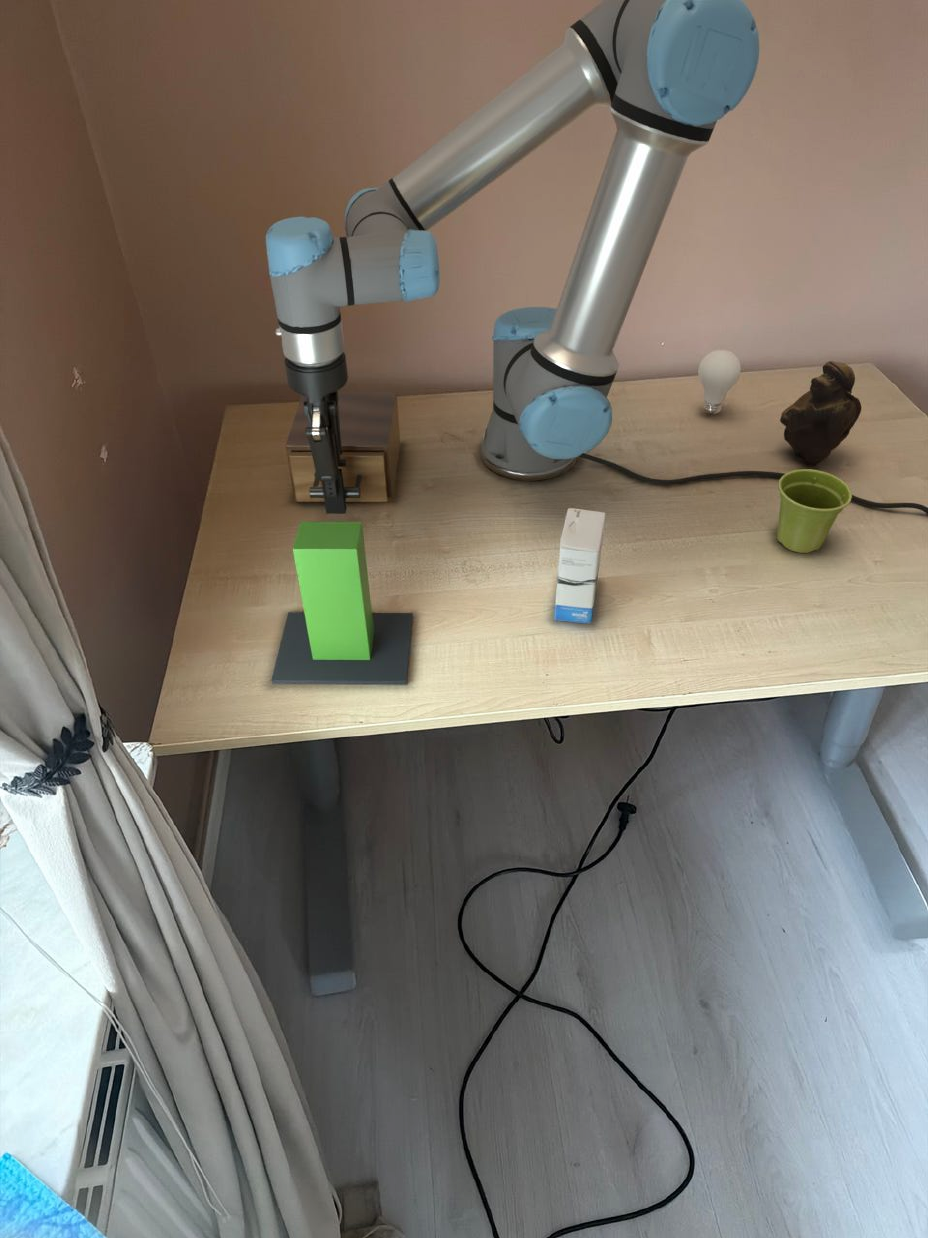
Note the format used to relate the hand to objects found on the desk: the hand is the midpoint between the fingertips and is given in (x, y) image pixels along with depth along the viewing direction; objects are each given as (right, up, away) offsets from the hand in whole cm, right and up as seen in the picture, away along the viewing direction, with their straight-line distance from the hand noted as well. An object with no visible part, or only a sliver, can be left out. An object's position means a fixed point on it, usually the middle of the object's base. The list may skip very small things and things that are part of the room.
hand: (336, 510), depth 126 cm
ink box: (+32, -13, -10) cm, 36 cm away
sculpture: (+72, +10, +14) cm, 74 cm away
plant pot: (+65, -4, -1) cm, 65 cm away
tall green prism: (+3, -19, -16) cm, 25 cm away
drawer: (0, +5, +9) cm, 11 cm away
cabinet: (0, +8, +13) cm, 15 cm away
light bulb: (+60, +19, +25) cm, 67 cm away
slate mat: (+3, -19, -16) cm, 25 cm away
